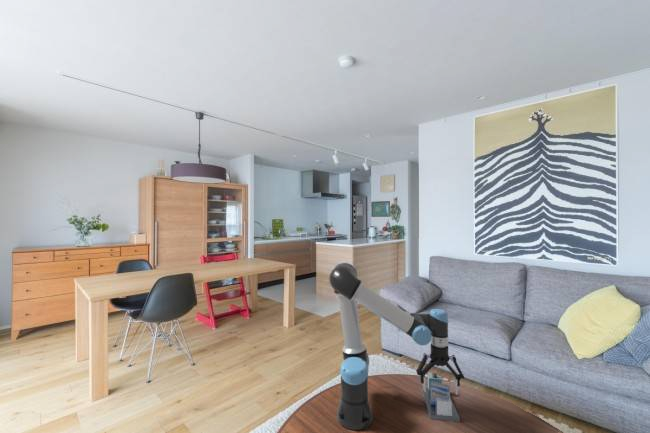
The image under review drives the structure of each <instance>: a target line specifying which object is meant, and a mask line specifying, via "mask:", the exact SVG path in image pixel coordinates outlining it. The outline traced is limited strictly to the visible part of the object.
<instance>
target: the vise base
mask: <svg viewBox="0 0 650 433" xmlns="http://www.w3.org/2000/svg"><path fill="white" fill-rule="evenodd" d="M421 392H422V395H423V400H424V403H425V406H426V409H427V412H428V415H429V416H428V417H429V420H438V421H448V422H458V423H460V422H461V419H460V416H459V414H458V411H457V409H456V407H455V405H454V402H453V400H452V397H451V396H450V398H442V397H435V403H436V406H434V405H431V391H429V389H428V387H426V392H424V390H423V387H421Z"/></svg>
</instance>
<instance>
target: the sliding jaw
mask: <svg viewBox="0 0 650 433" xmlns="http://www.w3.org/2000/svg"><path fill="white" fill-rule="evenodd" d="M432 381H433V382H437V383H441V384H443V379H442V376H441V375H438V374H437V372H436V373H435V372H432V374H431V375H429V374H427V388H428V389H429V391H431V382H432Z"/></svg>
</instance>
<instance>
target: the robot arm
mask: <svg viewBox="0 0 650 433" xmlns="http://www.w3.org/2000/svg"><path fill="white" fill-rule="evenodd" d="M328 278H329V284H330V286H331V287H332V289H333V291H334V294H335V295H336V296H337V298H338V305H339V313H340V320H341V328H342V335H343V341H344V342H343V343H344V345H343V347H342V348H341V350H342V358H343V361H342V362H341V365H340V369H339V371H340V372H339V373H340V401H339V403H338V407H337V410H336V419H337V422H338V421H339V422H338V423H339V424H340V426H342V427H343V426H344V427H343V428H345V429H348V430H351V431H360V430H361V431H362V430H365V429H367V428H368V427H370V425H371V424H372V422H373V412H372V408H371V406H370V402H369V384H368V383H369V380H368V379H369V366H370V358H369V354H368V351H367V345H366V344H364V343H363V337H362V331H361V323H360V314H359V308H358V304H360V305H361V306H363V307H364V308H366V309H367V310H369V311H371V312H372V313H374V314H375V315H377V316H379V317H380V318H382V319H383V320H384V321H386V322H387V323H389V324H391V325H392V326H393V327H395V328H397V329H398V330H400V331H402V332H403V333H405V335H408V336H409V337H411V338H412V340H413V341H414V343H415V344H417V345H419V346H427V345H429V344H430V354H427V353H426V352H424V353H423V355H422V359H421V361H420V363H419V365H418V367H417V368H416V375H417V376H420V383H421V384H422V388H423V390H424V392H426V388H427V386H426V385H427V383H426V380H427V379H426V375H427V373H428V372H429V371H430V370H432V368H433V367H435V366H437V367H440V366H441V367H444V366H446V368H448V370H449V371H450V372H451V373H452V375H453V392H454V394H455V395H456V396H458V387H460V385H461V382H460V381H461V379H465V376H464V374H463V372H462V370H461V367H460V366H459V364H458V362H457V357H456V356H455V354H452V355H449V318H448V312H447V311H446V310H444V309H440V308H432V309H430V311H429V313H416V312H415V313H414V312H413V313H412V312H406V311H405V310H403V309H401V308H400V307H398V306H397V305H396V304H394V303H393V302H392V301H389V300H387V299H386V298H384V297H383V296H381V295H380V294H378V293H377V292H376V291H373V290H372V289H370V288H369V287H367V286H366V285H364V284H363V281H362V280H360V279H359V278H358V272H357V270H356V268H355V266H354V265H352V264H351V263H348V262H341V263H338V264H336V266H335V267H334V268H333V269H332V270H331V271H330V274H329V276H328ZM429 359H430V360H429ZM428 360H429V362H428V363H427V361H428ZM450 360H451V362H453V364H454V366H455V368H456V370H457V372H458V373H459V374H458V373H457V372H456V370H455V369H454V368H453V367H452V366H451V364H450V363H449V362H450ZM426 363H427V365H426Z"/></svg>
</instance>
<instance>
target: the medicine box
mask: <svg viewBox="0 0 650 433" xmlns="http://www.w3.org/2000/svg"><path fill="white" fill-rule="evenodd" d="M450 390H451V388H450V385H449V384H445V383H442V384H441V383H437V382H433V381H432V382H431V405H434V406H436V403H435V397H442V398H450V397H451V394H450V393H451V392H450Z"/></svg>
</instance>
